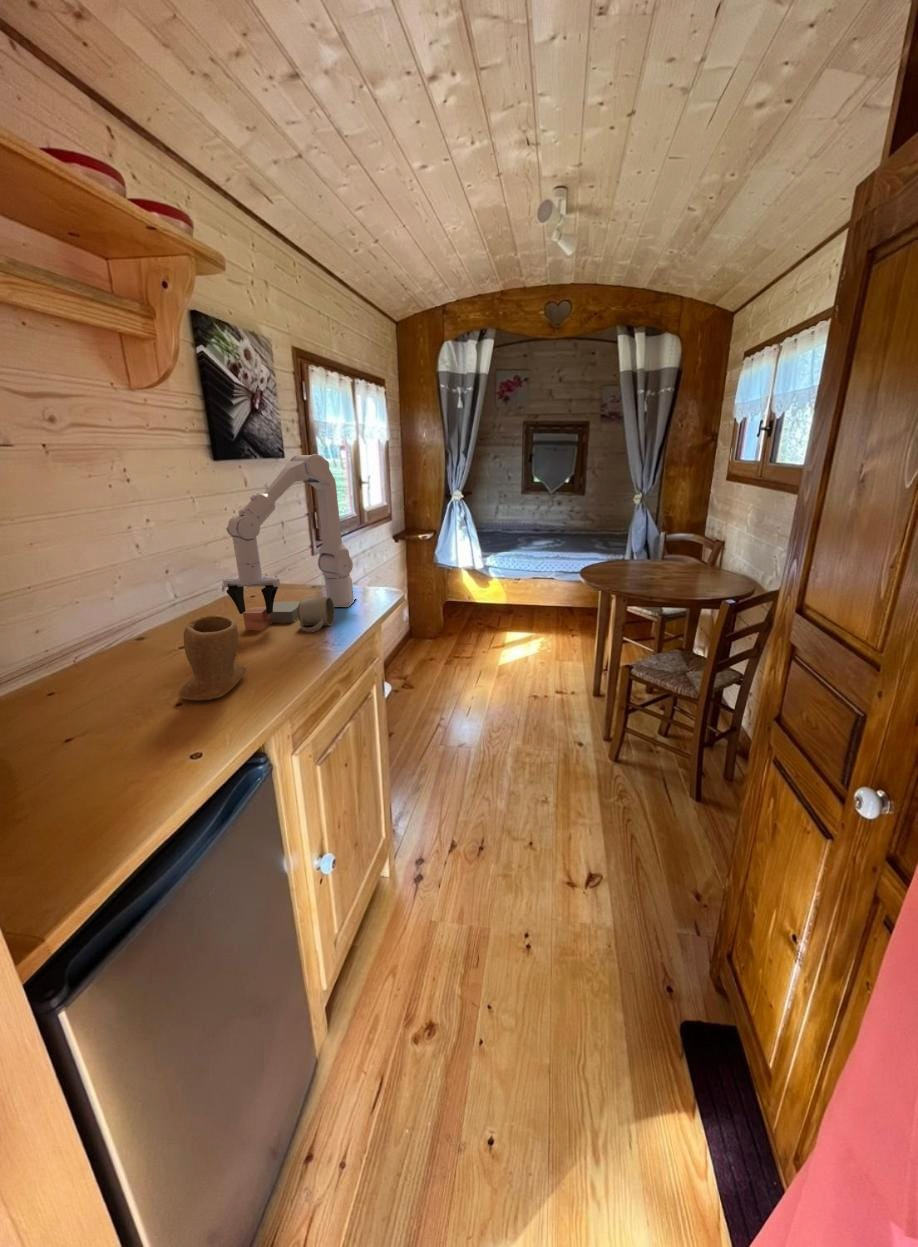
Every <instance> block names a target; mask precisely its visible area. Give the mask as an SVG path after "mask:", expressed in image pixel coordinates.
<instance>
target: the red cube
mask: <svg viewBox="0 0 918 1247" xmlns="http://www.w3.org/2000/svg"><path fill="white" fill-rule="evenodd" d="M242 617H243V622H244V626H245V631H246V630H257V631H265V630H267V629H268V628H269V627H270V626H272V625H273V623H271V617H270V614H267V611H266V607H265V606H264V607H263V606H260V607H258V606H257V607H256V606H255V607H250V608H248V609H247V610H245V612H243V614H242ZM271 624H272V625H271ZM268 626H269V627H268ZM267 627H268V628H267Z"/></svg>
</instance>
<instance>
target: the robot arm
mask: <svg viewBox="0 0 918 1247" xmlns="http://www.w3.org/2000/svg"><path fill="white" fill-rule="evenodd" d="M301 481H305V482H307V483H308V484H310V486H311V487H313V488H314V489H316V495H317V504H318V513H319V514H318V515H319V522H320V530H321V538H322V539H321V540H322V545H321V546H320V547H319V549H318V552H319V553H318V554H319V555H318V559H317V567H318V569H319V570H320V571H321V572H322V576H323V578H324V587H325V595H326V596H325V597H330V598H331V599H332V601H333V604H334V607H348V608H350V607H351V606H352V605H353V604H354V603H355V601H354V599H353V598H355V597H354V589H353V588H354V586H353V579H352V577H351V573H352V571H353V568H354V567H353V560H352V558H351V556H350V553H349V552H350V551H349V549H348V548H347V546H345V545H344V543H343V540H342V531H341V530H342V529H341V522H340V520H341V519H340V510H339V509H340V508H339V500H338V493H337V492H338V491H337V482H336V479H335V477H334V475H333V473H332V472H331V469H330V463H329V461H328V460H327V459H325V458H324V457H323V456H322V455H320V454H315V453H314V454H310V455H309V454H306V455H301V454H295V455H294V456H292V457H291V458H290V460H289V461H287V462H286V463H285V464H284V467H283V469H282V470H281V471H280V472H279V474H278V475H277V476H276V478H275V479H274V481H272V482H271V484H270V486H268V488H267V489H266V490H265V492H264V493H256V494H252V495H251V496H250V498H249V499H250V501H249V502H248V503H246V504H247V505H246V506H244V508H242V509H239V510H238V515H235V516H232V517H231V518H230V519H229V521H228V524H227V527H226V529H225V530H226V532H227V533H228V535H229V536H230V538H232V543H233V549H234V556H235V564H236V568H237V574H238V577H235V578H234V577H233V578H225V579H223V580H222V584H223V588H227V589H226V590H225V591H226V594H228V596H229V597H230V599H232V601H233V603H234V605H235V607H236V608H237V611H238V613H239V614H240V615H243V612H245V611H246V604H245V596H244V594H245V593H244V588H245V587H247V588H249V587H252V588H253V587H263V588H261V589H260V591H261V594H262V596H263V600H264V603H265V606H266V611H267V614H270V613H272V612H273V603H274V602H275V597H276V594H277V591H278V589H279V586H280V585H281V581H280V578H279V577H266V576H263V573H262V567H261V560H260V558H261V557H260V553H259V546H258V539H257V537H258V536H259V535H260V531H261V526H262V525H263V524H264V522H265V521H266V520H267V519H268V518H269V517H270V515H271V514H273V512H274V511H275V510H276V501H277V500H279V499H280V497H282V496H283V495H284V494H285V493H286V491H288V490H289V489H290V487H292V486H293V485H294V484H295V483H297V482H301ZM353 602H354V603H353ZM352 603H353V604H352ZM351 604H352V605H351ZM350 605H351V606H350ZM349 606H350V607H349Z"/></svg>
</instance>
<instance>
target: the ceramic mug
mask: <svg viewBox="0 0 918 1247" xmlns="http://www.w3.org/2000/svg"><path fill="white" fill-rule="evenodd" d="M299 602H300V603H299V605H298V610H297V613H298V621H299V625H300V629H301V630H302V632H304V631H306V632H305V633H308V632H311V633H314V632H313V631H315V632H317V631H318V630H320V629H321V628H322V627H330V626H332V625H333V623H335V622H334V621H335V617H336V614H335V613H336V612H335V611H336V608H334V604H333V601H332V599H331V598H330V597H326V596H323V597H322V596H321V597H311V598H303V599H302V600H300V601H299ZM304 626H308V627H304ZM310 626H311V627H310Z"/></svg>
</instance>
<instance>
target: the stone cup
mask: <svg viewBox="0 0 918 1247" xmlns="http://www.w3.org/2000/svg"><path fill="white" fill-rule="evenodd" d="M238 646H239V631H238V626H237V623H236V621H235V620H234V619H233V618H231V617H229V616H225V615H221V614H209V615H202V616H199V617H196V618H194V619H192V620H190V621H189V622H188V624H187V625H186V626H185V628H184V631H183V649H184V652H185V656H186V658H187V661H188V663H189V664H190V666H191V669H192V671H193V673H194V674H193V676H192V677H191V678H189V679H188V681H186V682H184V684H183V685H182V686H181V688H179V690H178V691H177V696H178V698H180V699H181V700H182V699H183V700H188V701H210V700H215V699H219V698H222V697H223V696H225V695H226V694H227V693H229V692H230V691H231V690H232V689H233V688H234V687H236V685H237V684H238V682H239V681H240V680H241V678H242V677H243V676H244V675H245V674H246V673H247V670H248V669H247V667H245V666H243V665H241V664H238V663H237V662H235V660H236V659H235V658H236V654H237V648H238Z"/></svg>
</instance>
